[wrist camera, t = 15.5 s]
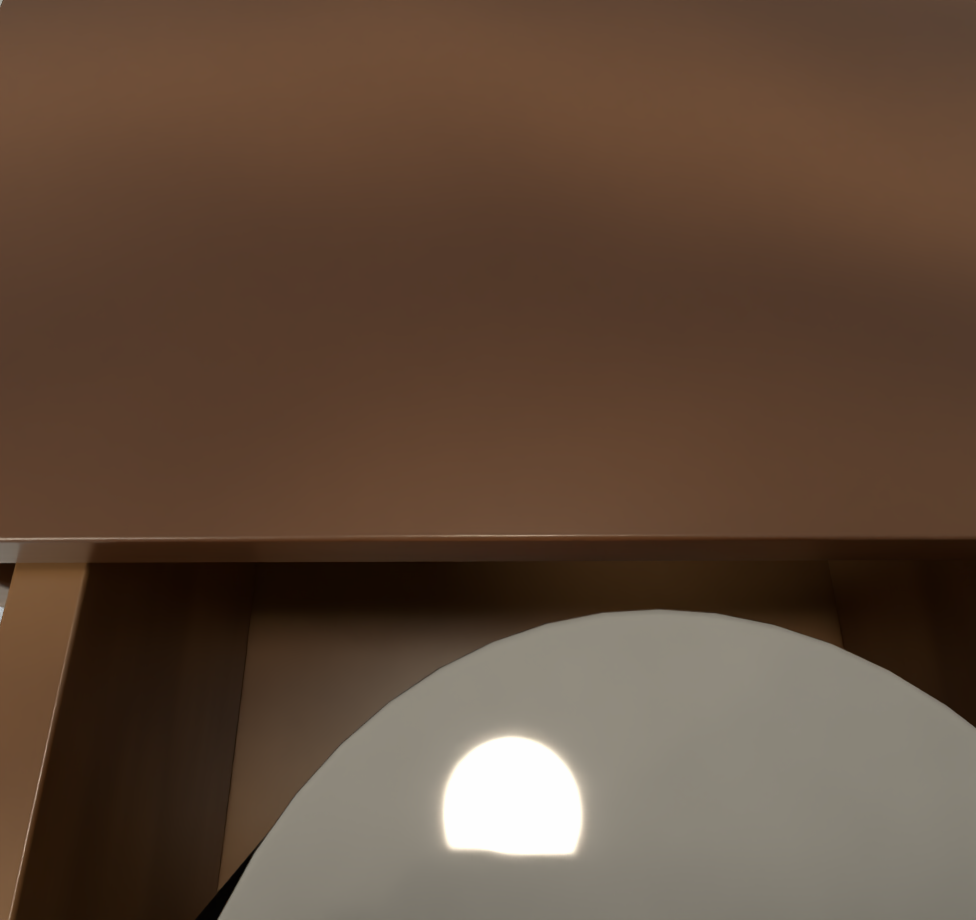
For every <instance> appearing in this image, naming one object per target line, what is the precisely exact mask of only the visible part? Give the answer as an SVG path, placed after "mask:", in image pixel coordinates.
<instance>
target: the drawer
mask: <svg viewBox="0 0 976 920" xmlns="http://www.w3.org/2000/svg"><path fill="white" fill-rule="evenodd" d="M644 609H670V610H685V611H699V612H713V613H720V614H725V615H730V616H735V617H740V618H745V619H750V620H755V621H760V622H765V623H770V624H774V625H777V626H780V627H783V628H786V629H789V630H792V631H795V632H798V633H801V634H804V635H807V636H810V637H813V638H817V639H820V640H823V641H826V642H829V643H831V644H833V645H836V646H838V647H840V648H842V649H844V650H846V651H848V652H851V653H853V654H855V655H857V656H859V657H861V658H864V659H866V660H868V661H870V662H872V663H874V664H876V665H879V666H881V667H883V668H885V669H887V670H889V671H891V672H892V673H894V674H896V675H897V676H899V677H900V678H902V679H904V680H905V681H907V682H909V683H910V684H912V685H914V686H915V687H917V688H919V689H920V690H922V691H923V692H925V693H927V694H928V695H930V696H932V697H933V698H935V699H937V700H938V701H940V702H942V703H943V704H945V705H946V706H948V707H949V708H950V709H952V710H953V711H954V712H956V713H957V714H958V715H960V716H961V717H962V718H963V719H965V720H966V721H967V722H969V723H970V724H971V725H973V726H974V727H975V728H976V560H787V561H462V562H136V563H16V565H15V568H14V572H13V576H12V580H11V584H10V588H9V592H8V596H7V600H6V604H5V608H4V612H3V616H2V620H1V624H0V920H195V919H196V918H197V917H198V915H199V914H200V913H201V912H202V911H203V909H204V908H205V907H206V906H207V905H208V903H209V902H210V901H211V900H212V899H213V898H214V896H215V895H216V894H217V893H218V892H219V890H220V889H221V888H222V887H223V886H224V884H225V883H226V882H227V881H228V880H229V878H230V877H231V876H232V875H233V874H234V872H235V871H236V870H237V869H238V868H239V866H240V865H241V864H242V863H243V862H244V861H245V859H246V858H247V857H248V856H249V855H250V853H251V852H252V851H253V850H254V849H255V847H256V846H257V845H258V844H259V843H260V841H261V840H262V839H263V838H264V837H265V835H266V834H267V833H268V832H269V831H270V829H271V828H272V826H273V825H274V824H275V822H276V821H277V819H278V818H279V817H280V815H281V814H282V812H283V811H284V809H285V808H286V807H287V805H288V804H289V802H290V801H291V800H292V798H293V797H294V795H295V794H296V793H297V792H298V791H299V789H300V788H301V787H302V786H303V785H304V784H305V783H306V782H307V780H308V779H309V778H310V777H311V776H312V775H313V774H314V773H315V772H316V770H317V769H318V768H319V767H320V766H321V765H322V764H323V763H324V762H325V760H326V759H327V758H328V757H329V756H330V755H331V754H332V753H333V752H334V750H335V749H336V748H337V747H338V746H339V745H340V744H341V743H342V742H343V741H344V740H345V739H346V738H348V737H349V736H350V735H351V734H352V733H353V732H355V731H356V730H357V729H358V728H359V727H360V726H361V725H363V724H364V723H365V722H366V721H367V720H368V719H369V718H371V717H372V716H373V715H374V714H375V713H376V712H377V711H379V710H380V709H381V708H382V707H383V706H384V705H385V704H387V703H388V702H389V701H390V700H392V699H393V698H395V697H396V696H398V695H399V694H401V693H402V692H404V691H405V690H407V689H408V688H410V687H411V686H413V685H414V684H416V683H417V682H419V681H420V680H422V679H423V678H425V677H426V676H428V675H429V674H431V673H432V672H434V671H435V670H437V669H438V668H440V667H442V666H444V665H446V664H448V663H450V662H452V661H454V660H456V659H458V658H460V657H462V656H464V655H466V654H468V653H470V652H472V651H474V650H476V649H478V648H480V647H482V646H484V645H486V644H488V643H490V642H492V641H495V640H498V639H501V638H504V637H507V636H510V635H513V634H515V633H518V632H521V631H524V630H527V629H530V628H533V627H536V626H539V625H542V624H545V623H549V622H554V621H559V620H564V619H569V618H574V617H579V616H585V615H590V614H595V613H600V612H612V611H628V610H644Z"/></svg>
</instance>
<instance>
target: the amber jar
mask: <svg viewBox="0 0 976 920" xmlns="http://www.w3.org/2000/svg"><path fill="white" fill-rule="evenodd" d="M217 920H976V728H975V727H974V726H973V725H971V724H970V723H969V722H967V721H966V720H965V719H963V718H962V717H961V716H960V715H958V714H957V713H956V712H954V711H953V710H952V709H950V708H949V707H948V706H946V705H945V704H943V703H942V702H940V701H938V700H937V699H935V698H933V697H932V696H930V695H928V694H927V693H925V692H923V691H922V690H920V689H919V688H917V687H915V686H914V685H912V684H910V683H909V682H907V681H905V680H904V679H902V678H900V677H899V676H897V675H896V674H894V673H892V672H891V671H889V670H887V669H885V668H883V667H881V666H879V665H876V664H874V663H872V662H870V661H868V660H866V659H864V658H861V657H859V656H857V655H855V654H853V653H851V652H848V651H846V650H844V649H842V648H840V647H838V646H836V645H833V644H831V643H829V642H826V641H823V640H820V639H817V638H813V637H810V636H807V635H804V634H801V633H798V632H795V631H792V630H789V629H786V628H783V627H780V626H777V625H774V624H770V623H765V622H760V621H755V620H750V619H745V618H740V617H735V616H730V615H725V614H720V613H713V612H699V611H685V610H670V609H644V610H628V611H612V612H600V613H595V614H590V615H585V616H579V617H574V618H569V619H564V620H559V621H554V622H549V623H545V624H542V625H539V626H536V627H533V628H530V629H527V630H524V631H521V632H518V633H515V634H513V635H510V636H507V637H504V638H501V639H498V640H495V641H492V642H490V643H488V644H486V645H484V646H482V647H480V648H478V649H476V650H474V651H472V652H470V653H468V654H466V655H464V656H462V657H460V658H458V659H456V660H454V661H452V662H450V663H448V664H446V665H444V666H442V667H440V668H438V669H437V670H435V671H434V672H432V673H431V674H429V675H428V676H426V677H425V678H423V679H422V680H420V681H419V682H417V683H416V684H414V685H413V686H411V687H410V688H408V689H407V690H405V691H404V692H402V693H401V694H399V695H398V696H396V697H395V698H393V699H392V700H390V701H389V702H388V703H387V704H385V705H384V706H383V707H382V708H381V709H380V710H379V711H377V712H376V713H375V714H374V715H373V716H372V717H371V718H369V719H368V720H367V721H366V722H365V723H364V724H363V725H361V726H360V727H359V728H358V729H357V730H356V731H355V732H353V733H352V734H351V735H350V736H349V737H348V738H346V739H345V740H344V741H343V742H342V743H341V744H340V745H339V746H338V747H337V748H336V749H335V750H334V752H333V753H332V754H331V755H330V756H329V757H328V758H327V759H326V760H325V762H324V763H323V764H322V765H321V766H320V767H319V768H318V769H317V770H316V772H315V773H314V774H313V775H312V776H311V777H310V778H309V779H308V780H307V782H306V783H305V784H304V785H303V786H302V787H301V788H300V789H299V791H298V792H297V793H296V794H295V795H294V797H293V798H292V800H291V801H290V802H289V804H288V805H287V807H286V808H285V809H284V811H283V812H282V814H281V815H280V817H279V818H278V819H277V821H276V822H275V824H274V825H273V826H272V828H271V829H270V831H269V832H268V833H267V835H266V836H265V838H264V839H263V841H262V842H261V843H260V845H259V846H258V848H257V849H256V850H255V852H254V854H253V855H252V857H251V859H250V861H249V863H248V864H247V866H246V868H245V870H244V872H243V874H242V875H241V877H240V879H239V881H238V883H237V884H236V886H235V888H234V890H233V892H232V893H231V895H230V897H229V899H228V901H227V903H226V904H225V906H224V908H223V910H222V912H221V913H220V915H219V917H218V919H217Z"/></svg>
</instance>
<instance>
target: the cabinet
mask: <svg viewBox="0 0 976 920" xmlns="http://www.w3.org/2000/svg"><path fill="white" fill-rule="evenodd" d="M787 560H976V0H3V1H2V4H1V6H0V607H3V608H5V604H6V600H7V596H8V592H9V588H10V584H11V580H12V576H13V572H14V568H15V565H16V563H136V562H462V561H787Z"/></svg>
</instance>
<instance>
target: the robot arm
mask: <svg viewBox="0 0 976 920" xmlns="http://www.w3.org/2000/svg"><path fill="white" fill-rule="evenodd" d="M266 835H267V834H266ZM266 835H265V836H266ZM264 838H265V837H264ZM264 838H263V839H264ZM263 839H262V840H261V841H260V843H261V842H262V841H263ZM260 843H259V844H258V845H257V846H256V847H255V849H254V850H253V851H252V852H251V853H250V855H249V856H248V857H247V858H246V859H245V861H244V862H243V863H242V864H241V865H240V866H239V868H238V869H237V870H236V871H235V872H234V874H233V875H232V876H231V877H230V878H229V880H228V881H227V882H226V883H225V884H224V886H223V887H222V888H221V889H220V890H219V892H218V893H217V894H216V895H215V896H214V898H213V899H212V900H211V901H210V902H209V903H208V905H207V906H206V907H205V908H204V909H203V911H202V912H201V913H200V914H199V915H198V917H197V918H196V919H195V920H217V919H218V917H219V915H220V913H221V912H222V910H223V908H224V906H225V904H226V903H227V901H228V899H229V897H230V895H231V893H232V892H233V890H234V888H235V886H236V884H237V883H238V881H239V879H240V877H241V875H242V874H243V872H244V870H245V868H246V866H247V864H248V863H249V861H250V859H251V857H252V855H253V854H254V852H255V850H256V849H257V848H258V846H259V845H260Z"/></svg>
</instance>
